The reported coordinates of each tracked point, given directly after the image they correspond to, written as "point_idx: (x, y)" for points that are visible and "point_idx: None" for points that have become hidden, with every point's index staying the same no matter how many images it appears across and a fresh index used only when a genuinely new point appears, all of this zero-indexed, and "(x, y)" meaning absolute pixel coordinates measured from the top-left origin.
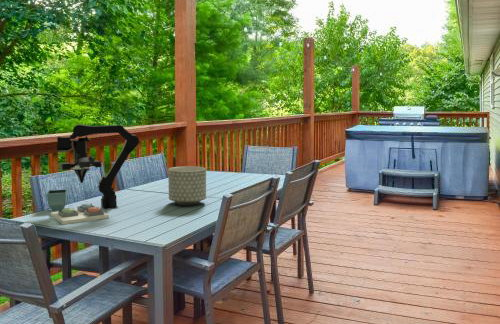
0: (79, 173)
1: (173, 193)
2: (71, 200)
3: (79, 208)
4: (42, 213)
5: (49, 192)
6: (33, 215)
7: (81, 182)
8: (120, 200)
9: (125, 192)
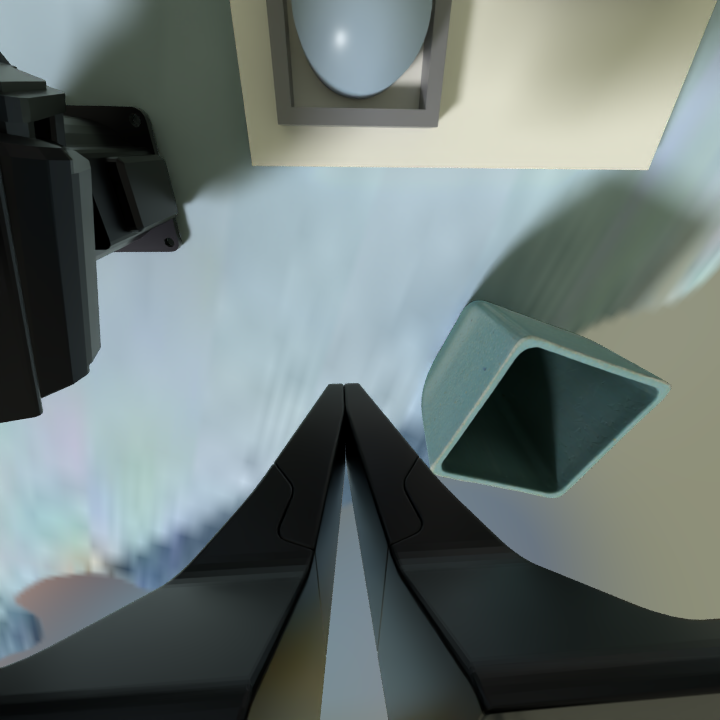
0: (434, 531)
1: None
2: None
3: (447, 23)
4: (613, 284)
5: (551, 477)
6: (690, 255)
7: (349, 384)
8: None
9: (9, 556)
